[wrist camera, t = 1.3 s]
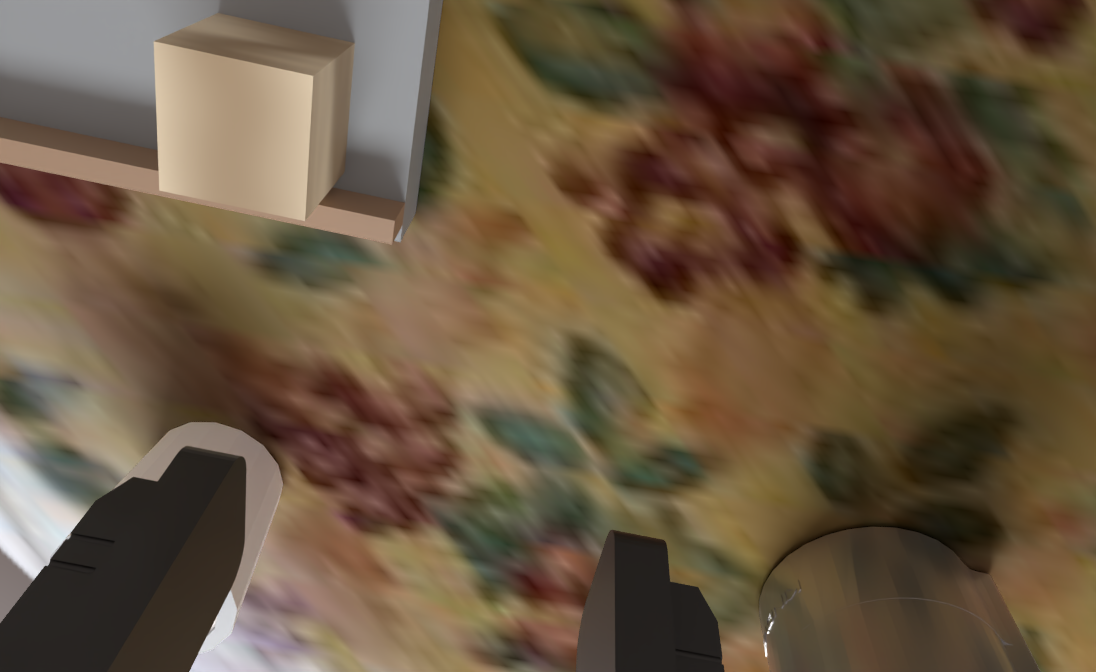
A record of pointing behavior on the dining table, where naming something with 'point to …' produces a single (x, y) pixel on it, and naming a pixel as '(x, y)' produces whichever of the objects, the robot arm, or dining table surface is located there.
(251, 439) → the beige cylinder
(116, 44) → the trap box
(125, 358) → the dining table surface
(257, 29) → the birch block
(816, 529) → the dining table surface
